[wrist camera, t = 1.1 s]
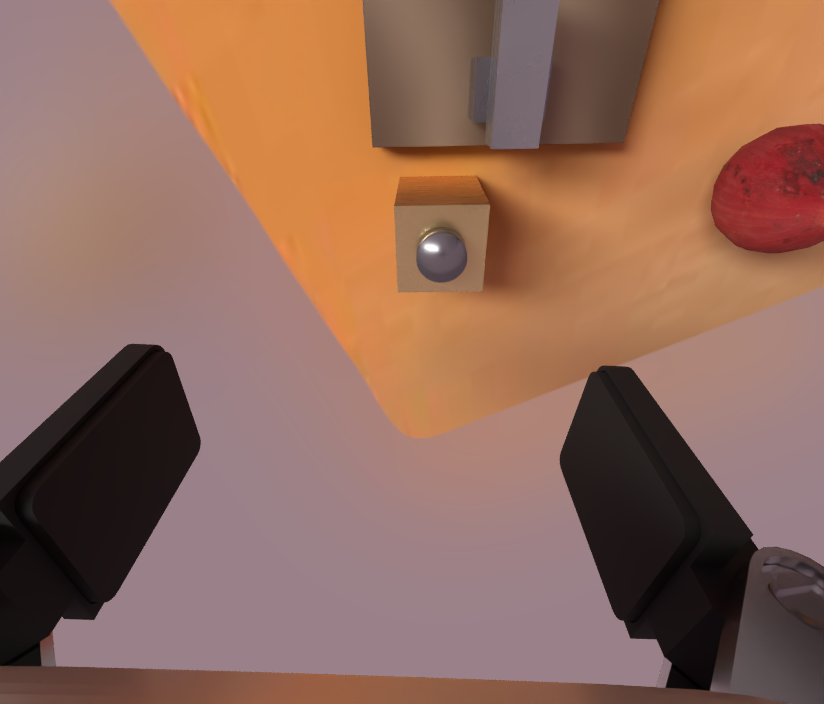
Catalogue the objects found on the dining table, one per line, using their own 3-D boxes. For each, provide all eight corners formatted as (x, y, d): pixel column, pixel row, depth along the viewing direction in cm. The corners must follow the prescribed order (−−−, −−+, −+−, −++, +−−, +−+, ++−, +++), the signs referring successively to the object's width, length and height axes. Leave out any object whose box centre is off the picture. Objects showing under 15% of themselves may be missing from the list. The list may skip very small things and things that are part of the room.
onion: (670, 160, 23) (770, 197, 16) (787, 91, 21) (954, 102, 14) (695, 243, 26) (789, 304, 19) (800, 189, 24) (946, 237, 17)
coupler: (476, 175, 24) (493, 210, 18) (471, 249, 26) (484, 300, 20) (399, 176, 24) (392, 212, 18) (402, 249, 26) (396, 301, 20)
